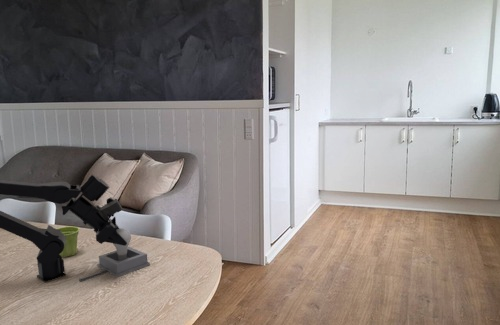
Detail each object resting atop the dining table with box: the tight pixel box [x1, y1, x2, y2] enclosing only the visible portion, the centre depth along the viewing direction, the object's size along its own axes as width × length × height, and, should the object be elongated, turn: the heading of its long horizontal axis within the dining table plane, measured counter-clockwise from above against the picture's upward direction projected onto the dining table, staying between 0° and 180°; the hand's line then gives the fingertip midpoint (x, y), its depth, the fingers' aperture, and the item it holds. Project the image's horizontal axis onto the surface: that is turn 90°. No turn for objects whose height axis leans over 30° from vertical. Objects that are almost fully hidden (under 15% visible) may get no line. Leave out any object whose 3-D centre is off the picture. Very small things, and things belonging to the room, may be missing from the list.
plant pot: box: [57, 226, 80, 258], centre depth 153 cm, size 9×9×9 cm
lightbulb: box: [112, 227, 132, 261], centre depth 140 cm, size 6×6×11 cm
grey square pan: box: [78, 246, 151, 283], centre depth 138 cm, size 21×12×4 cm, turn 137°
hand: (125, 241), depth 140 cm, fingers closed on lightbulb, 6 cm apart
